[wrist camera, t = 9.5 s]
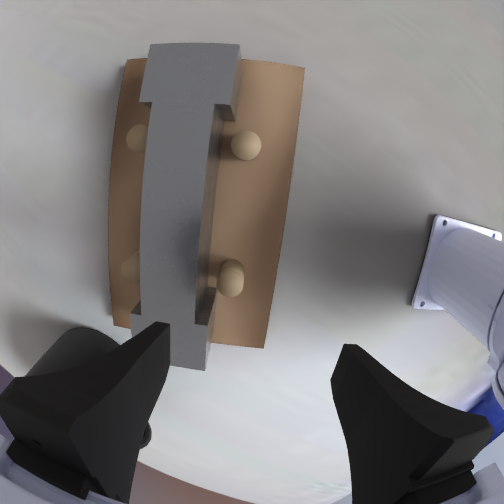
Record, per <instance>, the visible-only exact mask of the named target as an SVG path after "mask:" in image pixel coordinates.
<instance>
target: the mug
mask: <svg viewBox="0 0 504 504" xmlns="http://www.w3.org/2000/svg"><path fill="white" fill-rule="evenodd" d="M118 346H120V345H119V344H118V343H116V342H115V341H114V340H112V339H111V338H109V337H108V336H106V335H104V334H102V333H100V332H98V331H95V330H92V329H87V328H75V329H71V330H69V331H67V332H65V333H64V334H63V335H62V336H61V337H60V338H59V339H58V340H57V341H56V342H55V343H54V345H53V346H52V347H51V348H50V349H49V350H48V351H47V352H46V353H45V354H44V355H43V357H42V358H41V359H40V360H39V361H38V362H37V363H36V364H35V365H34V367H33V368H32V369H31V370H30V371H29V372H28V373H27V375H26V376H36V375H43V374H48V373H53V372H58V371H62V370H65V369H69V368H72V367H75V366H78V365H81V364H84V363H86V362H89V361H91V360H93V359H96V358H98V357H100V356H102V355H104V354H106V353H108V352H110V351H111V350H113V349H115V348H116V347H118ZM26 376H25V377H26ZM151 434H152V432H151V428H150V425H149V423H147V426H146V428H145V431H144V435H143V439H142V442H141V446H140V449H142V448H144V447H145V446H147V445H148V443H149V442H150V440H151Z"/></svg>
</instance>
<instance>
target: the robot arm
mask: <svg viewBox="0 0 504 504" xmlns="http://www.w3.org/2000/svg"><path fill="white" fill-rule="evenodd" d="M443 221H445V223H444V225H443ZM492 235H493V236H492ZM501 239H502V234H501V233H500V232H497V231H494V230H491V229H487V228H484V227H481V226H477V225H474V224H470V223H467V222H463V221H460V220H456V219H452V218H449V217H445V216H441V215H437V216H436V217H435V218H434V222H433V226H432V231H431V235H430V240H429V244H428V248H427V252H426V256H425V260H424V263H423V267H422V271H421V274H420V277H419V281H418V284H417V287H416V291H415V294H414V297H413V300H412V306H413V307H414V308H415V309H431V310H445V311H446V312H447V313H449V314H450V315H451V316H452V317H453V318H454V319H455V320H456V321H458V322H459V323H460V324H461V325H462V326H463V327H464V328H465V329H466V330H467V331H468V332H470V333H471V334H472V335H473V336H474V337H475V338H476V339H477V340H478V341H479V342H480V343H481V344H482V345H483V346H484V347H485V348H486V349H487V350H488V351H489V352H490V356H489V359H488V364H489V365H490V366H491V367H492V368H493V369H494V370H495V371H496V372H495V374H494V377H493V382H492V386H493V391H494V395H495V397H496V399H497V401H498V402H499V404H500V405H501V407H502V408H503V409H504V242H502V241H501ZM422 301H423V302H422ZM421 302H422V304H421V305H420V303H421ZM169 366H170V324H169V323H164V322H158V321H156V322H154V323H153V324H151V325H150V326H148V327H147V328H145V329H144V330H143V331H141V332H140V333H138V334H137V335H135V336H134V337H132V338H131V339H129V340H128V341H126V342H125V343H123V344H122V345H120V346H118V347H116V348H115V349H113V350H111V351H110V352H108V353H106V354H104V355H102V356H100V357H98V358H96V359H93V360H91V361H89V362H86V363H84V364H81V365H78V366H75V367H72V368H69V369H65V370H62V371H58V372H53V373H48V374H43V375H36V376H26V377H15V378H14V379H13V381H12V382H11V383H10V384H9V385H8V386H7V387H6V389H5V390H4V391H3V392H2V393H1V394H0V416H1V417H2V419H3V421H4V422H5V424H6V425H7V427H8V429H9V430H10V432H11V433H12V435H13V436H14V438H15V439H14V440H13V442H12V443H10V442H9V441H8V440H7V439H6V438H4V437H3V436H2V435H0V504H129V499H130V492H131V486H132V481H133V476H134V471H135V466H136V462H137V458H138V454H139V450H140V446H141V442H142V439H143V435H144V431H145V428H146V426H147V423H148V420H149V418H150V416H151V413H152V411H153V409H154V406H155V404H156V402H157V399H158V397H159V395H160V392H161V390H162V388H163V385H164V383H165V380H166V377H167V373H168V370H169ZM331 388H332V394H333V400H334V403H335V407H336V410H337V413H338V417H339V420H340V423H341V426H342V430H343V433H344V436H345V440H346V444H347V449H348V456H349V462H350V471H351V482H352V504H504V477H503V475H502V473H501V472H500V470H499V468H498V467H497V465H496V463H493V464H491V465H489V466H487V467H485V468H483V469H481V470H480V471H478V472H476V473H475V474H474V475H473V474H472V472H471V470H472V469H473V468H474V464H473V462H472V460H473V459H474V458H475V456H477V454H478V453H479V452H480V451H481V450H482V449H483V448H484V447H485V446H486V444H487V443H488V442H489V440H490V439H491V437H492V435H493V431H494V429H493V427H492V425H491V424H490V423H489V421H488V420H487V418H486V417H485V416H481V415H477V414H472V413H468V412H464V411H461V410H458V409H455V408H452V407H450V406H447V405H444V404H442V403H440V402H438V401H436V400H434V399H431V398H429V397H428V396H426V395H424V394H422V393H420V392H419V391H417V390H415V389H414V388H412V387H411V386H409V385H408V384H406V383H405V382H403V381H402V380H401V379H399V378H398V377H397V376H395V375H394V374H393V373H391V372H390V371H389V370H388V369H386V368H385V367H384V366H383V365H382V364H380V363H379V362H378V361H377V360H376V359H374V358H373V357H372V356H371V355H370V354H369V353H367V352H366V351H365V350H364V349H362V348H361V347H360V346H358V345H357V344H344V345H343V348H342V351H341V353H340V356H339V359H338V361H337V364H336V367H335V369H334V372H333V374H332V377H331Z"/></svg>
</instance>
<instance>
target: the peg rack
mask: <svg viewBox="0 0 504 504" xmlns="http://www.w3.org/2000/svg"><path fill="white" fill-rule="evenodd" d="M146 62H147V58H141V59H130V60H127V62H126V67H125V71H124V76H123V81H122V86H121V91H120V97H119V103H118V109H117V115H116V122H115V130H114V138H113V147H112V157H111V169H110V184H109V208H108V251H109V275H110V291H111V303H112V313H113V322H114V325H115V326H119V327H124V328H129V329H131V321H130V313H131V311H132V310H133V309H134V307H135V306H136V305H137V303H138V302H139V301H140V299H141V296H140V222H141V201H142V185H143V173H144V162H145V152H146V143H147V135H148V127H149V120H150V113H151V108H149V107H147V106H145V105H143V104H142V103H140V102H139V98H140V93H141V87H142V82H143V77H144V72H145V67H146ZM241 64H242V74H243V76H242V83H241V90H240V96H239V103H238V111H237V118H236V122H234V121H225V122H224V130H223V137H222V145H221V153H220V161H219V169H218V178H217V187H216V196H215V206H214V215H213V226H212V236H211V248H210V259H209V272H208V285H207V287H213V288H217V299H216V311H215V324H214V331H213V335H212V340H211V343H219V344H227V345H236V346H245V347H255V348H264V343H265V338H266V332H267V327H268V321H269V315H270V310H271V304H272V298H273V292H274V286H275V280H276V274H277V268H278V262H279V256H280V249H281V243H282V237H283V230H284V224H285V217H286V210H287V203H288V197H289V190H290V183H291V175H292V168H293V161H294V153H295V146H296V138H297V130H298V122H299V114H300V106H301V97H302V89H303V80H304V71H305V68H303V67H298V66H292V65H286V64H279V63H272V62H265V61H256V60H246V59H241Z"/></svg>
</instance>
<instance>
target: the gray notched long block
mask: <svg viewBox="0 0 504 504" xmlns="http://www.w3.org/2000/svg"><path fill="white" fill-rule="evenodd" d="M242 76H243V74H242V64H241V55H240V45H237V44H220V43H167V44H151V45H150V49H149V53H148V58H147V62H146V67H145V72H144V77H143V82H142V87H141V93H140V98H139V102H140V103H142V104H143V105H145V106H147V107H149V108H151V113H150V120H149V127H148V135H147V143H146V152H145V162H144V173H143V185H142V201H141V222H140V296H141V299H140V301H139V302H138V303H137V305H136V306H135V307H134V309H133V310H132V311H131V313H130V321H131V332H132V337H134V336H135V335H137V334H138V333H140V332H141V331H143V330H144V329H145V328H147V327H148V326H150V325H151V324H153V323H154V322H156V321H158V322H164V323H169V324H170V365H172V366H177V367H183V368H189V369H196V370H203V371H205V368H206V363H207V359H208V354H209V349H210V345H211V340H212V335H213V331H214V324H215V311H216V299H217V288H213V287H207V285H208V272H209V259H210V248H211V236H212V226H213V215H214V206H215V196H216V187H217V178H218V169H219V161H220V153H221V145H222V137H223V130H224V122H225V121H234V122H236V118H237V111H238V103H239V96H240V90H241V83H242Z"/></svg>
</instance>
